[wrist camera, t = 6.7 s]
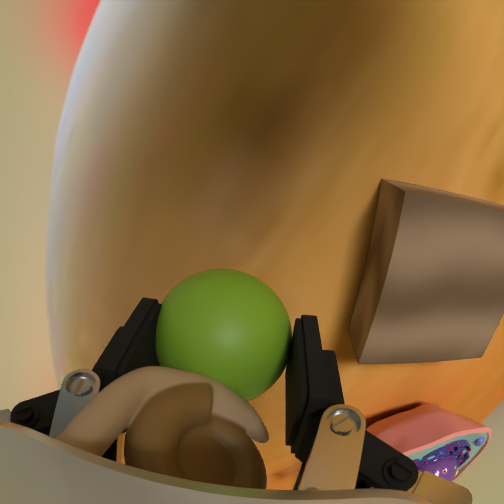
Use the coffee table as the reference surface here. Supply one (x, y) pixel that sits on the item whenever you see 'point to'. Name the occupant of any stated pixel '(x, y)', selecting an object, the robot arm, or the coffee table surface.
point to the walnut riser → (429, 277)
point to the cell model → (434, 438)
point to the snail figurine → (197, 385)
